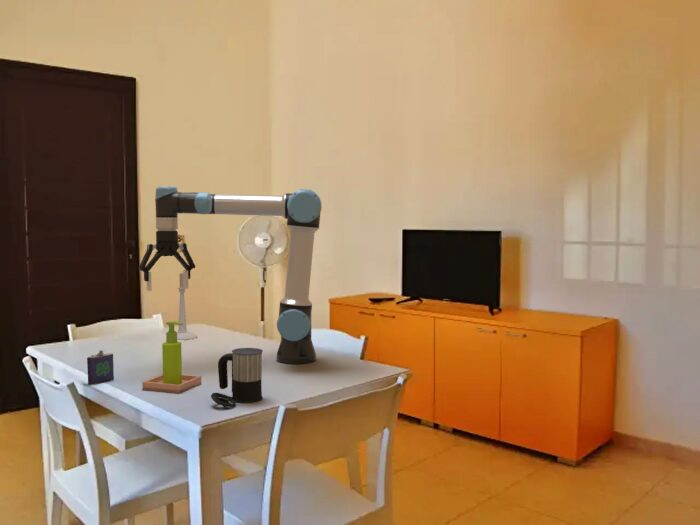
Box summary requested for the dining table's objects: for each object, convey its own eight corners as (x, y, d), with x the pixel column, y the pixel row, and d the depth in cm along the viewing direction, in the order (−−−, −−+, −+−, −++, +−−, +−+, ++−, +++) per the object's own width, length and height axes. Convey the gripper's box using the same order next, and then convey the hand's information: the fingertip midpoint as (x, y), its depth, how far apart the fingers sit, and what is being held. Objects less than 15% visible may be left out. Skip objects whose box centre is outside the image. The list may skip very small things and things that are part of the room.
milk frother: (264, 394, 199) (264, 347, 198) (258, 409, 184) (258, 358, 183) (218, 395, 199) (217, 347, 198) (208, 410, 183) (207, 358, 182)
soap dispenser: (179, 386, 205) (178, 323, 204) (159, 385, 207) (158, 322, 205) (188, 381, 211) (187, 320, 210) (168, 380, 212) (167, 320, 211)
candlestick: (167, 336, 299) (166, 271, 297) (196, 334, 303) (195, 270, 301) (168, 341, 287) (167, 273, 285) (198, 339, 290) (197, 273, 288)
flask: (111, 378, 219) (110, 347, 219) (116, 379, 218) (115, 348, 217) (86, 384, 212) (85, 351, 211) (91, 385, 210) (90, 352, 209)
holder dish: (201, 383, 212) (201, 376, 212) (179, 393, 200) (179, 385, 200) (165, 380, 217) (165, 373, 216) (142, 389, 205) (142, 382, 204)
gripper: (195, 229, 242) (196, 286, 243) (128, 230, 227) (129, 290, 228) (204, 230, 236) (204, 288, 237) (135, 230, 221) (136, 292, 222)
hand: (167, 289), depth 232 cm, fingers open, 13 cm apart
